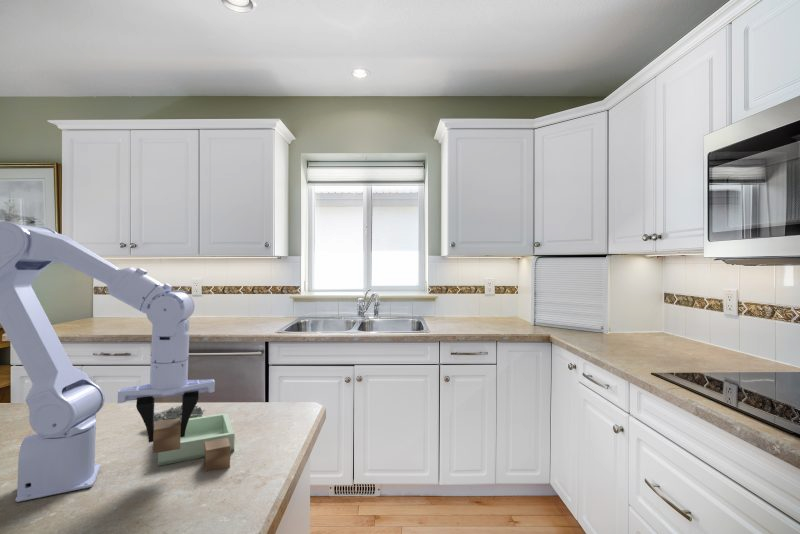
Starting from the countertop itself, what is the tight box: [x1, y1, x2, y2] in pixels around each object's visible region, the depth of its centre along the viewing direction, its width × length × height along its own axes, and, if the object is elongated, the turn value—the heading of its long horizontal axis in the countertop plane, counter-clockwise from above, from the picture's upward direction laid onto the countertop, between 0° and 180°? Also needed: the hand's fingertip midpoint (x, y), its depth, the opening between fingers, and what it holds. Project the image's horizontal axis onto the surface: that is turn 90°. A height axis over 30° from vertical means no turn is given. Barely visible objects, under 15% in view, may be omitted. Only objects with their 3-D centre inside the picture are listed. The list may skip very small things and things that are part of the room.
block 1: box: [152, 418, 181, 454], centre depth 69 cm, size 4×4×4 cm
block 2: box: [203, 438, 231, 473], centre depth 73 cm, size 4×4×4 cm
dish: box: [157, 412, 235, 467], centre depth 81 cm, size 13×13×4 cm
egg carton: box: [154, 405, 206, 423], centre depth 91 cm, size 11×8×4 cm
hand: (167, 437), depth 69 cm, fingers closed on block 1, 4 cm apart
